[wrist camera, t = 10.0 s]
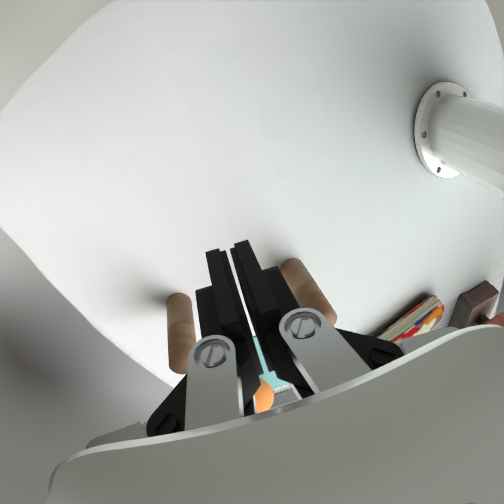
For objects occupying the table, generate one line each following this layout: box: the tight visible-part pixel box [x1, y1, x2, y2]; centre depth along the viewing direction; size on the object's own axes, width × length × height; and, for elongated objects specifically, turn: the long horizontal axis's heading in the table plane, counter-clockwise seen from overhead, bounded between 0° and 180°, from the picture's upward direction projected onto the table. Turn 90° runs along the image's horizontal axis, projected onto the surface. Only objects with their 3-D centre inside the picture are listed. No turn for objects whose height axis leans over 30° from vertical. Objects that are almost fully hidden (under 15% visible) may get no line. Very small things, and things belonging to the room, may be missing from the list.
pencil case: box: [375, 296, 444, 344], centre depth 45 cm, size 11×20×5 cm, turn 111°
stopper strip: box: [269, 389, 299, 410], centre depth 47 cm, size 12×1×2 cm, turn 101°
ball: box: [254, 378, 274, 413], centre depth 41 cm, size 6×6×6 cm
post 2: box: [280, 259, 337, 326], centre depth 30 cm, size 3×3×9 cm
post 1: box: [167, 293, 196, 374], centre depth 29 cm, size 3×3×9 cm
